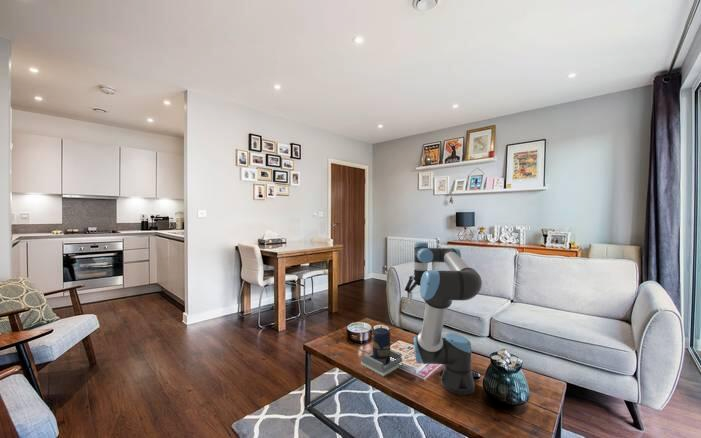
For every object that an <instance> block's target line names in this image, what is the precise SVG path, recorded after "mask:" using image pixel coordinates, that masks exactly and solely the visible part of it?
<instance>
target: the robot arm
mask: <svg viewBox="0 0 701 438" xmlns="http://www.w3.org/2000/svg"><path fill="white" fill-rule="evenodd" d="M413 250H414V253H413V254H414V256H413V257H414V260H413V262H414V263H413V267H414V268H413V275H410V276H408V277H409V279H408V282H407V283H406V286H405V288H404V291H406V292H407V298H408V305H411V304H413V290H414V289H415V288H416V287H417V286H420V287H419V294H420V297H421V299H423V301H424V303H425V306H424V312H423V313H424V315H423V322H422V326H421V327H422V328H421V331H420V332H419V333H418V334H417V336H414V337H413V347H414V348H413V349H414V355H415V361H416V363H418V364H423V365H426V364H427V365H444V368H443V371H442V374H441V377H440V385H441V386H442V388H443V389H444V390H446V391H448V392H449V393H451V394H455V395H459V396H469V395H472V394H473V393H474V392H475V390H476V388H475V387H476V384H475V383H476V382H475V380H474V377H473V373H472V351H473V350H472V343H471V341H470V340H469V339H468V338H467V337H465V336H463V335H461V334H456V333H453V332H450V333H446V334H445V336H444V337H442V333H443V329H444V323H445V319H446V314H447V309H448V308H449V307H451V305H452V303H453V301H469V300H472V299H474V298H475V297H476V296H477V295H478V294H479V293H480V291H481V290H482V286H483V282H482V281H483V280H482V277H481V275H480V274H479V272H478V271H477V270H475V268H472V267H470V266H468V264H467V263H466V262H465V261H464V260H463V259H462V254H461V253H462V252H461V250H460V248H456V247H455V248H453V247H449V248H445V247H444V248H443V247H436V248H435V247H429V243H428V242H424V241H416V242H414V247H413ZM429 263H444V264H445V265H446V267H447V268H448V269H449V270H437V269H433V270H432V269H431V270H428V269H429V268H428V264H429ZM413 281H414V282H413ZM412 283H413V284H412Z"/></svg>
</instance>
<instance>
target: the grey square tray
mask: <svg viewBox="0 0 701 438" xmlns="http://www.w3.org/2000/svg"><path fill="white" fill-rule="evenodd" d="M401 356H402V353H400V352H397V351H395V350H393V349H391V348H390V357H392V358H394V359H396V360H394V361H392V360H390V362H389V363H388V364H384V365H383V363H382V362H380V361H378V360H376V359H374V358H373V352H370V353H368V354H363V355H362V357H361V360H360V365H362V366H364V367H366V369H367V368H368V369H370V370H371V371H372V372H375V373H377V374H378V375H380V376H382V377H384V376H387V375H388V374H390V373H391V372H393V371H396V369H397V370H398V368H400V367H401V366H400V364H399V363H400V362H401V361H402V362H403V358H402V357H401ZM399 366H400V367H399Z"/></svg>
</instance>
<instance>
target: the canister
mask: <svg viewBox="0 0 701 438" xmlns="http://www.w3.org/2000/svg"><path fill="white" fill-rule="evenodd" d="M390 349H391V331H390V330H389V329H387V328H384V327H377V328H375V329H373V330H372V353H373V358H374V359H376V360H378V361H380V362H382V363H383V365H384V364H388V363H389V362H390Z"/></svg>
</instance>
